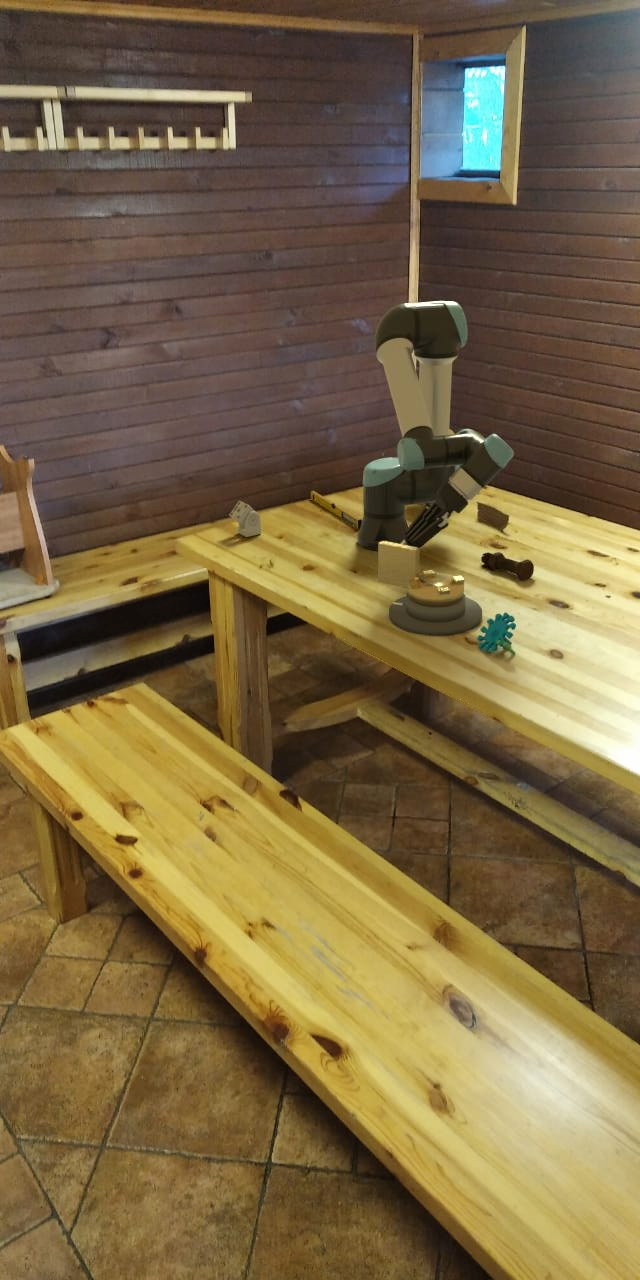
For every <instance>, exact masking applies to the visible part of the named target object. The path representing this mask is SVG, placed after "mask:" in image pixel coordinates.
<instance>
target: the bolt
mask: <svg viewBox="0 0 640 1280" xmlns="http://www.w3.org/2000/svg"><path fill="white" fill-rule="evenodd" d="M480 561H481V563H482V564H484V565H488V566H489V568H490V569H491V570H492V569H494V570H493V571H499V570H498V569H500V570H502V571H505V572H508V573H511V574H515V576H516V578H517V579H518V581H519V582H525V581H528V580H530V579H531V578H532V576H533V574H534V571H535V565H534V562H532V561H531V559H528V558H526V559H524V560H521V561H517V560H514V559H510V558H507V557H505V555H504V553H502V552H499V551H497V552H494V553H491V552H488V551H487V552H485V553H482V556H481V557H480Z"/></svg>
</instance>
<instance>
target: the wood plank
mask: <svg viewBox="0 0 640 1280" xmlns="http://www.w3.org/2000/svg"><path fill="white" fill-rule="evenodd" d="M476 504H477V505H476V506H477V513H476V514H477V518H478V519H481V520H483V521H485V522H487V523H488V524H491V525H492V526H493V527H495V528H497V529H498V530H499V531H500V532H502V533H504V530H505V529H506V528H507V526H508V523H509V521H510V515H509V514H507V513H504V512H502V511H501V510H499V509H497V508H496V507H493V506H491V505H487V504H486V503H482V502H479V501H476Z"/></svg>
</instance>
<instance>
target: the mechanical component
mask: <svg viewBox="0 0 640 1280" xmlns="http://www.w3.org/2000/svg"><path fill="white" fill-rule="evenodd" d="M228 516H229V517H231V518H232V519H233V520H234V521H236V522H237V523H238V527H237V534H240V535H241V536H243V537H244V538H249V537H253V536H256V535H261V534H262V523H261V516H260V513H258V512H257V511H255V509H253V508H252V507H251V505H249V504H248V503H247V502H246V503H245V502H244V501H241V500H238V501H237V502H236V504H235V506H234V507H233V508H232V510H231V512H230V513H229V514H228Z"/></svg>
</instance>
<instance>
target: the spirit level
mask: <svg viewBox="0 0 640 1280" xmlns="http://www.w3.org/2000/svg"><path fill="white" fill-rule="evenodd" d="M309 493H310V500H311V501H313V502H315V503H316V504H319V506H321V507H323V508H325V509H326V510H328V511H329V512H331V513H332V512H333V513H332V514H334V515H336V516H337V515H338V516H337V517H339V518H340V517H341V518H340V519H342V520H343V521H345V520H346V523H348V522H349V523H348V524H350V523H351V524H350V525H352V526H353V525H354V526H353V527H355V526H356V527H357V528H356V527H355V528H356V529H358V528H359V529H360V527H361V523H362V520H363V518H362V519H361V518H359V517H358V516H356V515H354V514H352V513H351V512H349V511H347V510H346V509H344V508H343V507H341V506H339V505H335V502H333V501H331V500H329V499H328V498H326V497H324V496H323V495H321V494H319V493H318V492H316V491H315V490H310V492H309ZM315 499H316V500H315Z"/></svg>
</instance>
